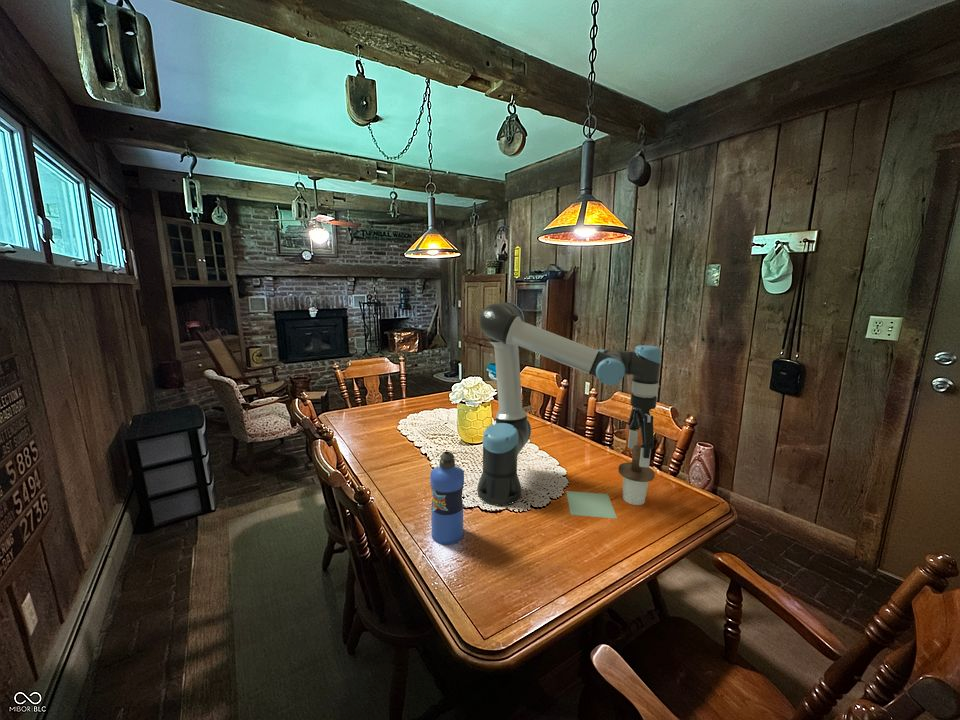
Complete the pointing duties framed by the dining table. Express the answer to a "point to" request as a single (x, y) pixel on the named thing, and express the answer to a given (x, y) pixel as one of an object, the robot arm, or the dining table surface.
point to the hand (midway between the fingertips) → (637, 457)
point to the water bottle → (447, 501)
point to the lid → (636, 468)
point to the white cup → (634, 491)
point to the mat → (590, 504)
